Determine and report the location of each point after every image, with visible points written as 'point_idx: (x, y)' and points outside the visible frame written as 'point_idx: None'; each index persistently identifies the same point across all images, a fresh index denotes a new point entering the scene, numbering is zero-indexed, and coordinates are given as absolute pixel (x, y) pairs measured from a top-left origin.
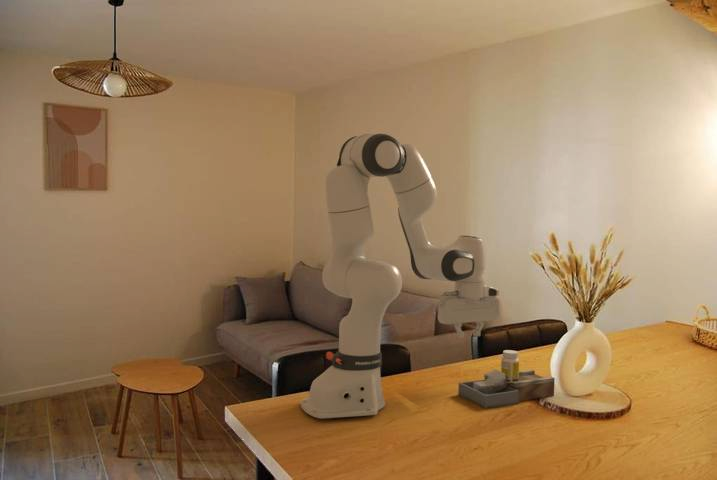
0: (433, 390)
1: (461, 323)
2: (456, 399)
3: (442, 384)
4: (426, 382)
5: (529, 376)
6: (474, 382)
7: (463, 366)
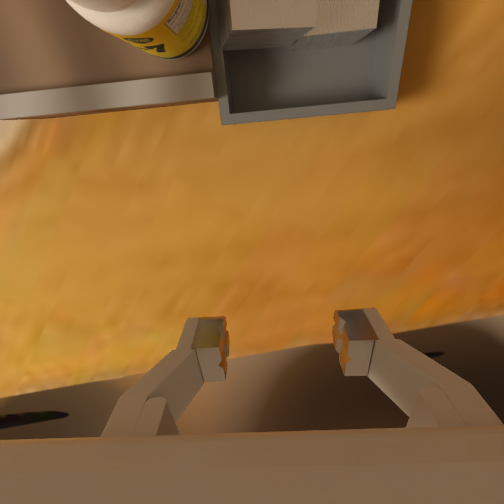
0: (416, 184)
1: (448, 424)
2: (421, 54)
3: (345, 230)
4: (377, 260)
5: (27, 64)
6: (373, 22)
7: None
